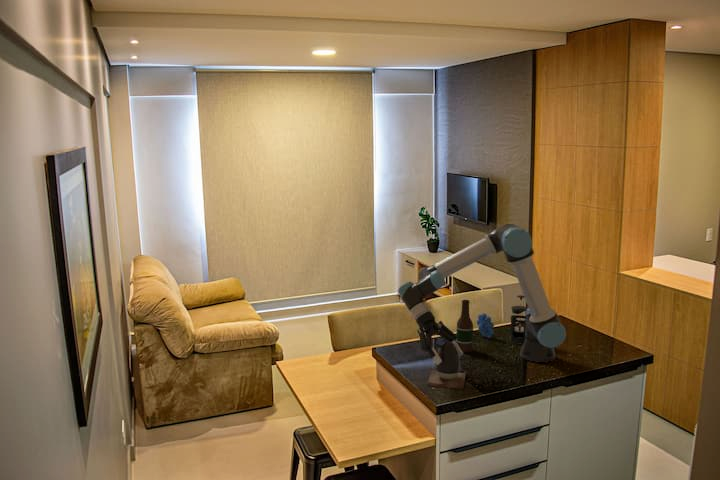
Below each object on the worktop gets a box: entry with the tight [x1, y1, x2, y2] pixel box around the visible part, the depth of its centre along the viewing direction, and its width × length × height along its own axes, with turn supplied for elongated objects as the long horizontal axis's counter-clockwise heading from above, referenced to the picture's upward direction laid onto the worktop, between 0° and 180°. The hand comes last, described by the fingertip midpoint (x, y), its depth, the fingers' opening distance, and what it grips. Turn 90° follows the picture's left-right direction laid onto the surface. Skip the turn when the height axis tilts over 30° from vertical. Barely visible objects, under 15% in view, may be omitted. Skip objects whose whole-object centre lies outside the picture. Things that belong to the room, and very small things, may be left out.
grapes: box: [476, 312, 495, 339], centre depth 303 cm, size 12×7×12 cm, turn 32°
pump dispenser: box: [434, 340, 461, 380], centre depth 246 cm, size 10×10×15 cm
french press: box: [509, 294, 529, 343], centre depth 296 cm, size 12×9×23 cm
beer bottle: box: [455, 299, 474, 353], centre depth 283 cm, size 8×8×24 cm
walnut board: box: [427, 369, 467, 390], centre depth 247 cm, size 14×14×1 cm
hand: (450, 359), depth 244 cm, fingers open, 13 cm apart
